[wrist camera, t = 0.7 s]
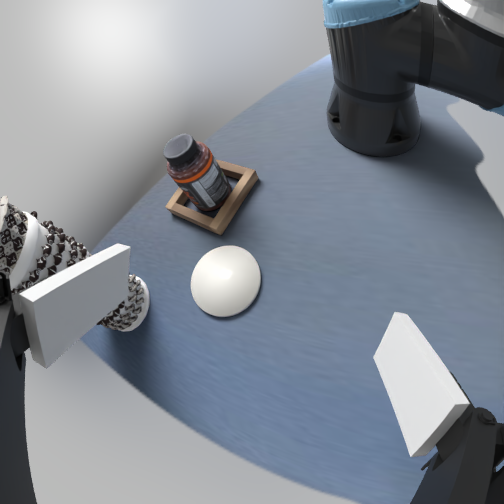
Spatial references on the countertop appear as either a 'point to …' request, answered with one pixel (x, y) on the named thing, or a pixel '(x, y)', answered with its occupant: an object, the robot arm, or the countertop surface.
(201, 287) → the white domed disc
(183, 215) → the holder
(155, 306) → the countertop surface
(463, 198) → the countertop surface
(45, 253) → the decorative candle
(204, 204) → the supplement bottle
